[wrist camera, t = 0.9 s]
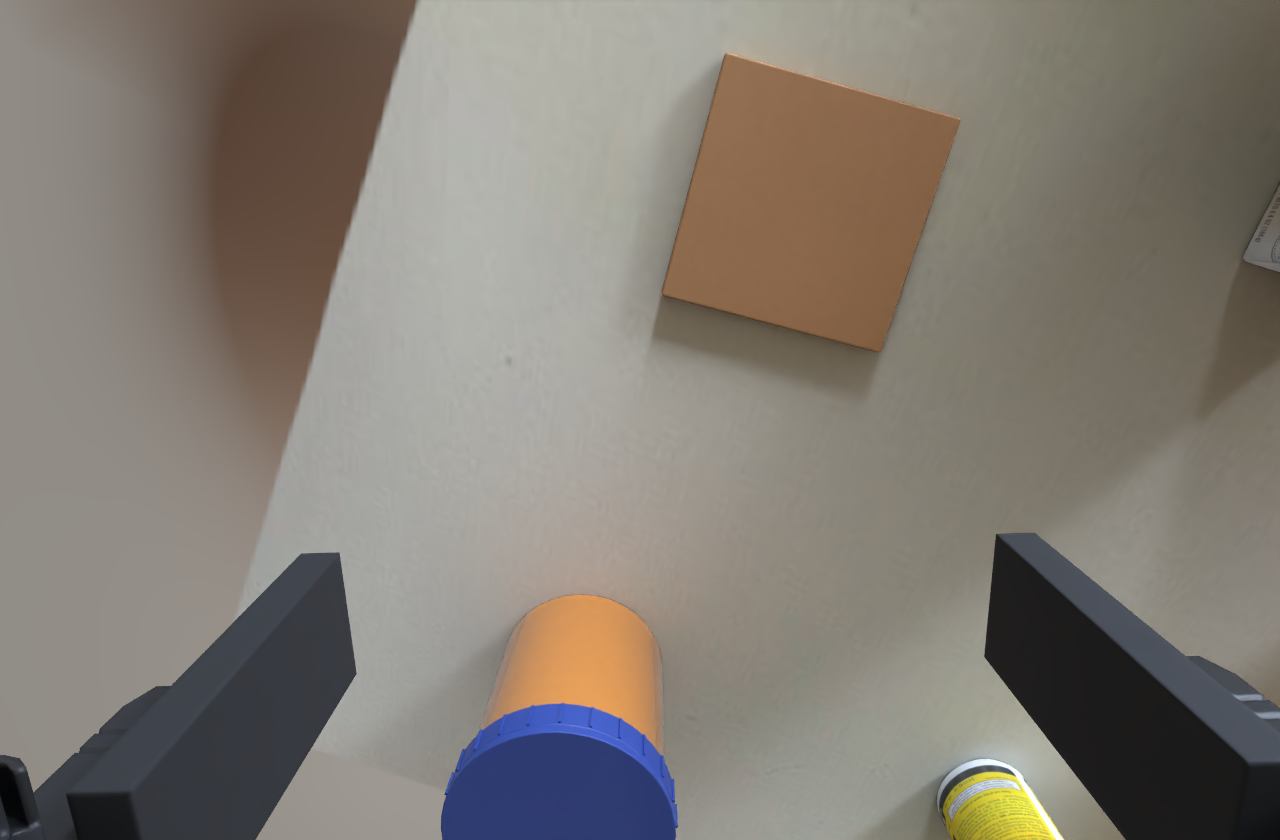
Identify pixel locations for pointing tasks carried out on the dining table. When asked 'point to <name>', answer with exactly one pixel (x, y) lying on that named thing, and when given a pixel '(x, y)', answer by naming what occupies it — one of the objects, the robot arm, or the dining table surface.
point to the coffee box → (1267, 238)
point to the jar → (583, 664)
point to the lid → (560, 780)
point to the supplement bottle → (992, 804)
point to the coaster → (806, 203)
